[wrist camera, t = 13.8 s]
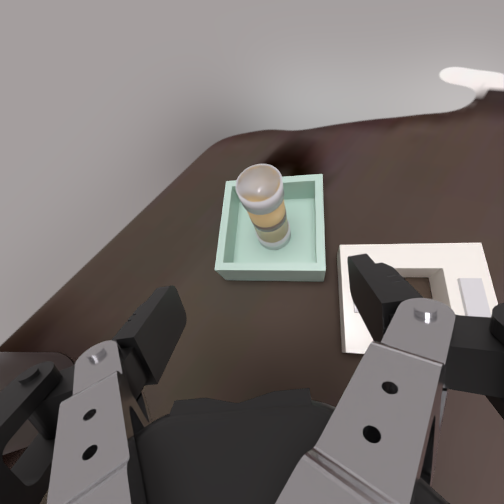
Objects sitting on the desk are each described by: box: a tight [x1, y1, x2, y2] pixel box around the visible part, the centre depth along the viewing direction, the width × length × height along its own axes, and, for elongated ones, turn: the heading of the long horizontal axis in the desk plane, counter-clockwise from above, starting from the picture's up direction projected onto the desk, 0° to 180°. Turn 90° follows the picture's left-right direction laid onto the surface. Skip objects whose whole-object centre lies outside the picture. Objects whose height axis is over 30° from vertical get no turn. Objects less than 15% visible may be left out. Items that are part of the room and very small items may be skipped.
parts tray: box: [215, 174, 326, 282], centre depth 29 cm, size 11×11×4 cm
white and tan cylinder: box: [236, 164, 291, 250], centre depth 25 cm, size 4×4×10 cm
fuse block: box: [337, 243, 498, 354], centre depth 23 cm, size 12×10×3 cm
